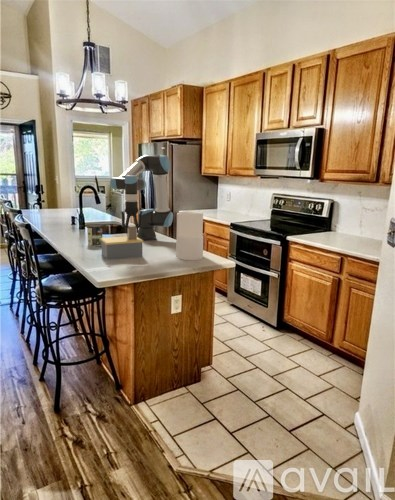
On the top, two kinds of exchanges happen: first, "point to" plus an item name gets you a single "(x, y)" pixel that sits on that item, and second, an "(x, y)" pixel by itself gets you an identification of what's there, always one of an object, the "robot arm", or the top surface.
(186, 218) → the cylinder
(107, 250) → the tub
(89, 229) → the coffee can
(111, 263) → the top surface
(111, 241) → the lid
